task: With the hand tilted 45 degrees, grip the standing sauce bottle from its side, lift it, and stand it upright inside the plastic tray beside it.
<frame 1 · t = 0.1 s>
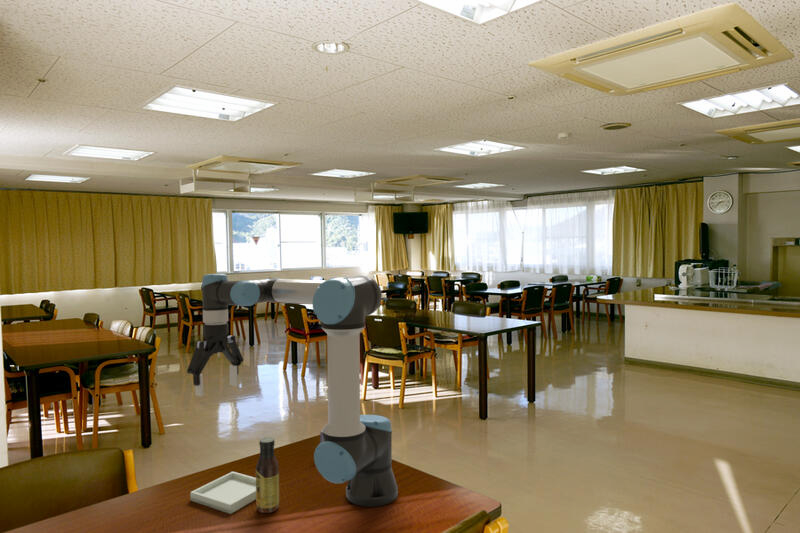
hand: (217, 390, 167), 28 cm above the table, tool pointing down, fingers open, 13 cm apart
tray: (231, 495, 156), on the table
sauce bottle: (267, 509, 147), on the table
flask: (330, 453, 188), on the table
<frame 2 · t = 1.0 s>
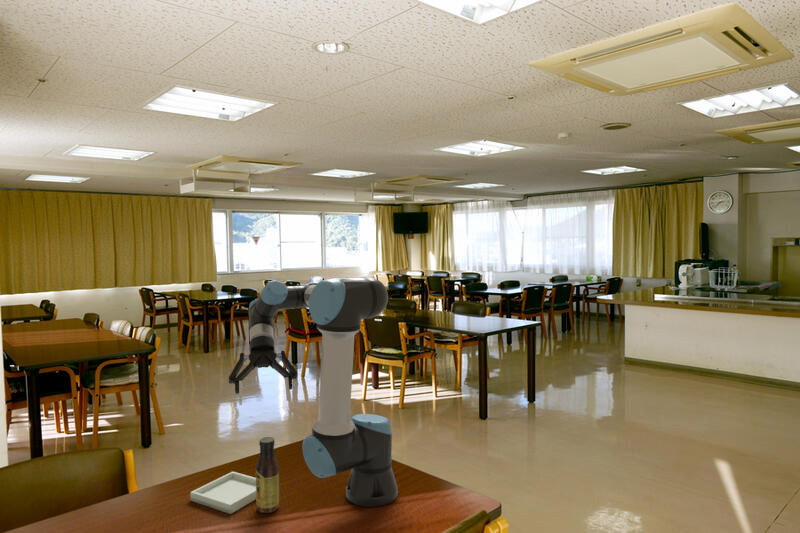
hand: (264, 400, 156), 28 cm above the table, tool tilted 45°, fingers open, 13 cm apart
nothing on the table moved.
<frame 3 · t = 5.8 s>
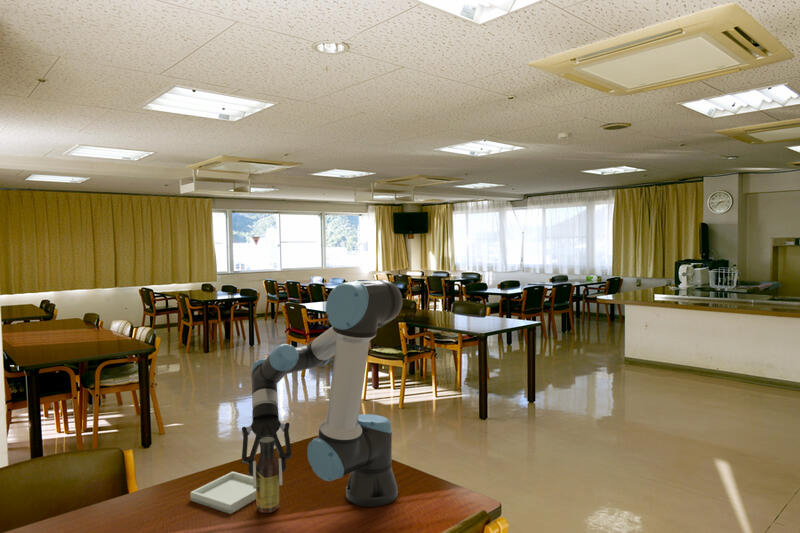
hand: (267, 484, 144), 8 cm above the table, tool tilted 45°, fingers closed on sauce bottle, 6 cm apart
sauce bottle: (267, 509, 147), on the table, touching gripper
everything else where it was.
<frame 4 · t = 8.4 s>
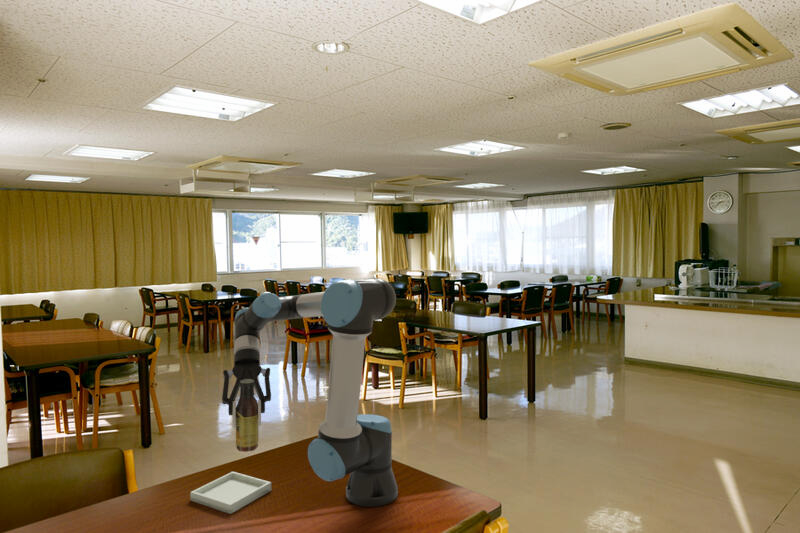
hand: (246, 424, 148), 24 cm above the table, tool tilted 45°, fingers closed on sauce bottle, 6 cm apart
sauce bottle: (247, 449, 152), point 15 cm above the table, touching gripper
everything else where it was.
when the fingers open (11 cm above the table, at t = 11.4 s): sauce bottle drops 1 cm, resting on tray.
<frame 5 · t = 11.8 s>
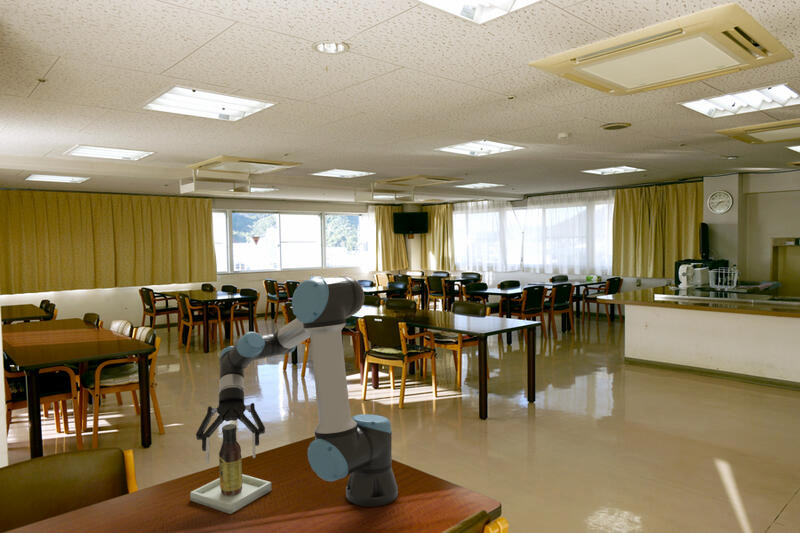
hand: (230, 458, 153), 12 cm above the table, tool tilted 45°, fingers open, 12 cm apart
sauce bottle: (231, 492, 156), point 1 cm above the table, touching tray
everything else where it was.
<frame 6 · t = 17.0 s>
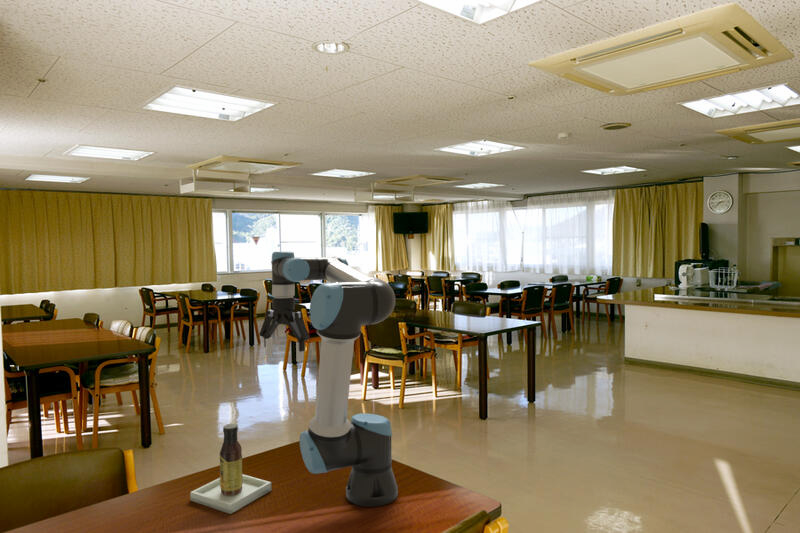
hand: (284, 359, 181), 35 cm above the table, tool pointing down, fingers open, 13 cm apart
nothing on the table moved.
at the end: sauce bottle inside the target area on the tray (0.1 cm from its centre), point 0.8 cm above the tray's base; sauce bottle tilted 0°; the gripper is holding nothing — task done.
